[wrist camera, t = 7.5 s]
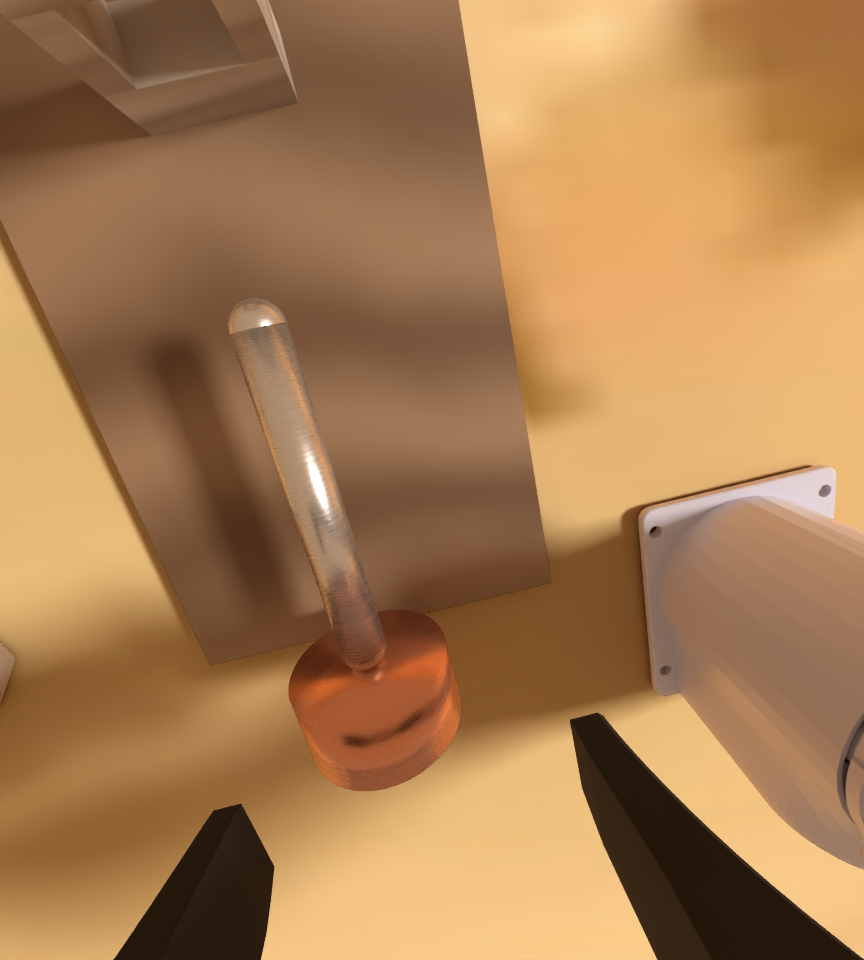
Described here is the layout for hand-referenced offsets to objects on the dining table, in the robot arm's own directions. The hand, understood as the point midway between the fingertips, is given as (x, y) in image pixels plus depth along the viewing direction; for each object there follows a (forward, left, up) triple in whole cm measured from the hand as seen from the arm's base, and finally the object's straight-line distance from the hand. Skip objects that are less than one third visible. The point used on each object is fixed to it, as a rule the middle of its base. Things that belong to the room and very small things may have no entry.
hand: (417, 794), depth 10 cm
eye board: (+10, +1, -9) cm, 13 cm away
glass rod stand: (+4, +1, -7) cm, 8 cm away
